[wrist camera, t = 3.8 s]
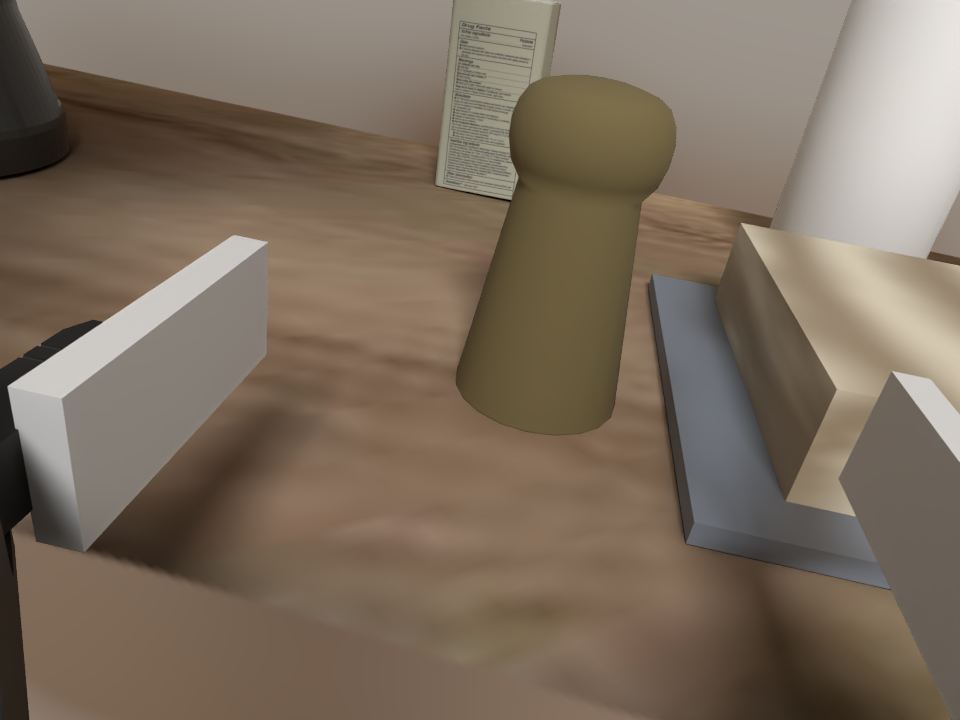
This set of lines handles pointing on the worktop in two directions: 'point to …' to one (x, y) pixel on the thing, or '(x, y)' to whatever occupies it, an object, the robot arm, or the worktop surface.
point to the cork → (565, 254)
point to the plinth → (735, 452)
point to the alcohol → (882, 132)
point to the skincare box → (490, 88)
